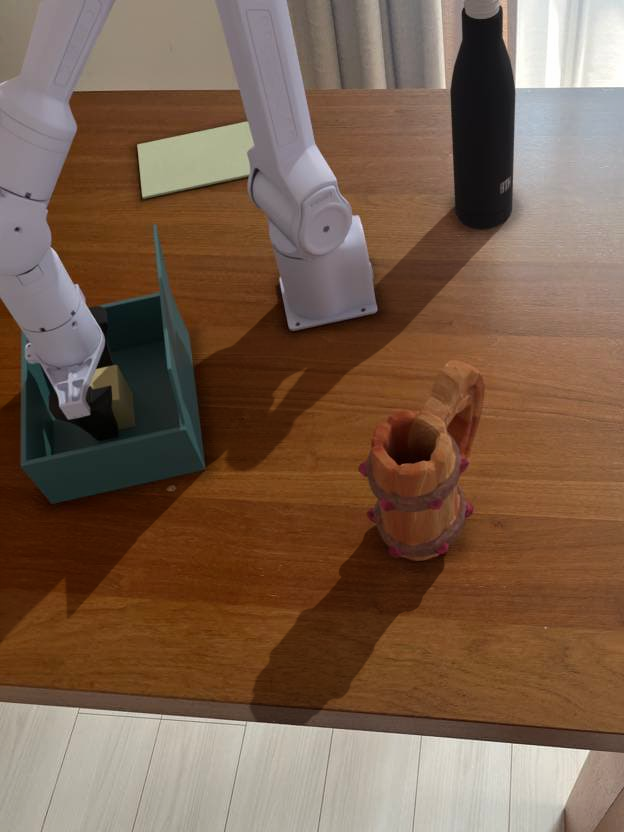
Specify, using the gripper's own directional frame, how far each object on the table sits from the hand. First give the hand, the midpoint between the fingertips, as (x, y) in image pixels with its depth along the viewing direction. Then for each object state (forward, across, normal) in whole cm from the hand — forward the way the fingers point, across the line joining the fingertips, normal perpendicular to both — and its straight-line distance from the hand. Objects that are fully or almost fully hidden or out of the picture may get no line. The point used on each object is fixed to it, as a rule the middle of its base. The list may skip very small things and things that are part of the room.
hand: (106, 405), depth 87 cm
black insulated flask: (+2, -18, +43) cm, 47 cm away
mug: (+2, +19, +29) cm, 35 cm away
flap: (-9, 0, +9) cm, 13 cm away
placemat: (+2, -37, +13) cm, 39 cm away
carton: (+2, 0, +1) cm, 2 cm away
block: (+1, 0, 0) cm, 1 cm away
